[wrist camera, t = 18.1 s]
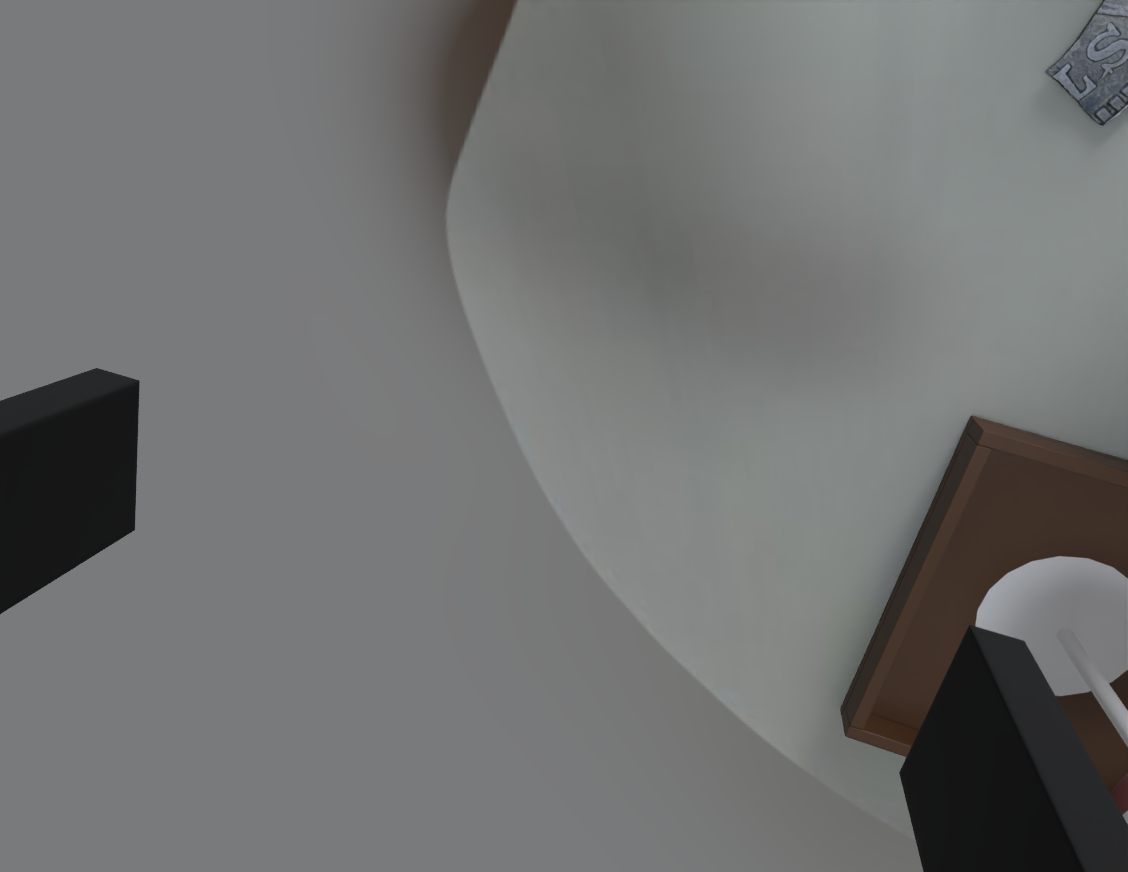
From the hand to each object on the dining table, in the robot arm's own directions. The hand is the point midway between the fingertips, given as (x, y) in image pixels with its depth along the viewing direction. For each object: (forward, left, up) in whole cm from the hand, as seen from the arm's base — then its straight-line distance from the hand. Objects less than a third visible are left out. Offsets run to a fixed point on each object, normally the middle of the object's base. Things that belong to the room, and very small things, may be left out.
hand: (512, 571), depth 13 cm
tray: (+12, +25, -35) cm, 45 cm away
